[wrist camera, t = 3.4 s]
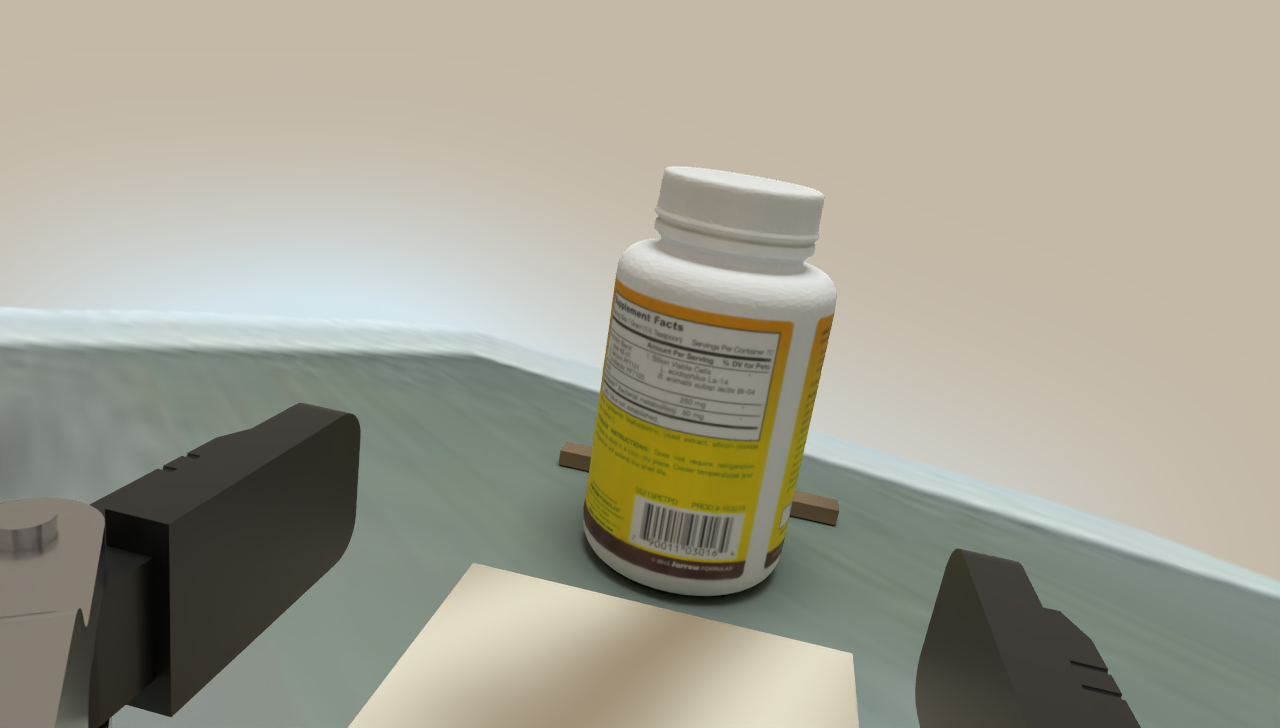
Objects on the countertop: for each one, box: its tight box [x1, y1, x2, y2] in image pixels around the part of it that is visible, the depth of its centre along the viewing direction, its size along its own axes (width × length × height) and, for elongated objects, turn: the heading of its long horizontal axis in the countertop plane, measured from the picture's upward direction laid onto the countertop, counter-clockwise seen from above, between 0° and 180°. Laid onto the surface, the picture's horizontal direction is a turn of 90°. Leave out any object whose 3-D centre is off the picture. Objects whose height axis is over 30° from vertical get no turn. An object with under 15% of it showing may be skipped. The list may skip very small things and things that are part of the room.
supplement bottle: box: [583, 166, 837, 596], centre depth 22 cm, size 6×6×10 cm
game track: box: [348, 442, 859, 728], centre depth 17 cm, size 9×22×1 cm, turn 169°
